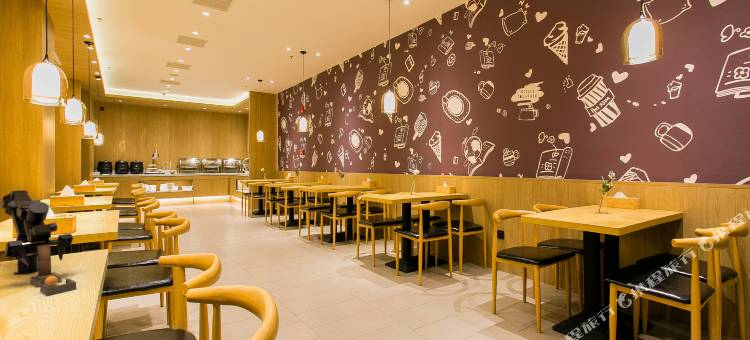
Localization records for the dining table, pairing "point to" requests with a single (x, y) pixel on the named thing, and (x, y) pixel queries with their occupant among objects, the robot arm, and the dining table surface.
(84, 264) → the dining table surface
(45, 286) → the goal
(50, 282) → the ball
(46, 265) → the slider
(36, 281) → the track
